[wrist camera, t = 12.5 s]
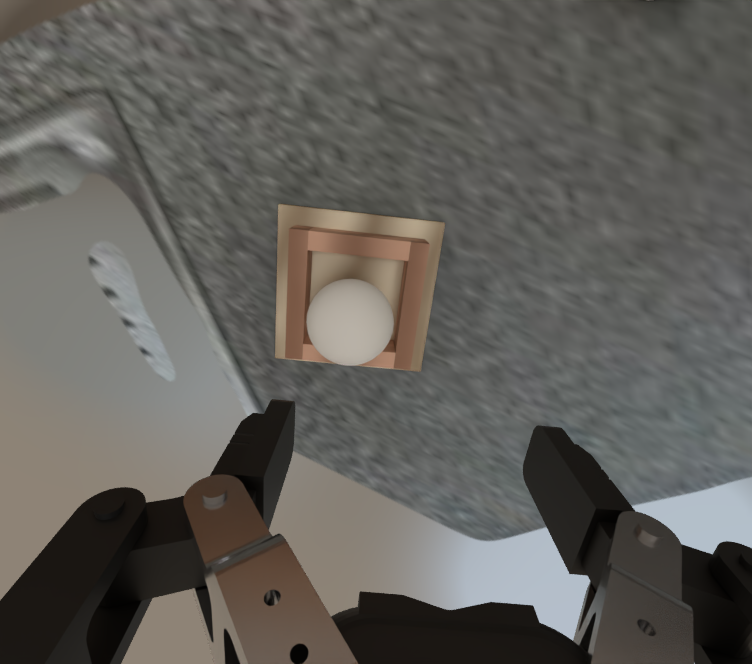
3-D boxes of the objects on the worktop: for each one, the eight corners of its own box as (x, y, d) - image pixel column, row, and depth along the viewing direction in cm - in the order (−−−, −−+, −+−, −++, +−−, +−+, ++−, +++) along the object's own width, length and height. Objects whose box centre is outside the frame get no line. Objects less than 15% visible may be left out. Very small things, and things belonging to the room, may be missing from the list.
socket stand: (443, 222, 34) (452, 226, 30) (419, 367, 39) (424, 386, 35) (280, 203, 33) (269, 205, 29) (277, 353, 38) (267, 372, 34)
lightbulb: (306, 282, 34) (279, 324, 24) (364, 244, 33) (362, 272, 23) (345, 336, 36) (335, 396, 26) (401, 302, 35) (414, 351, 25)
